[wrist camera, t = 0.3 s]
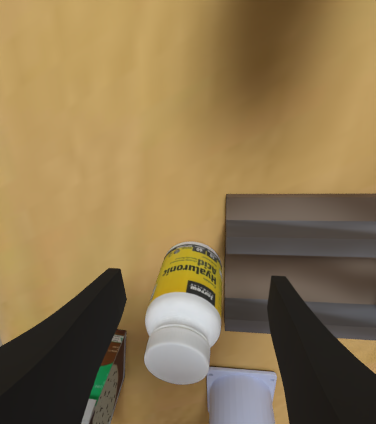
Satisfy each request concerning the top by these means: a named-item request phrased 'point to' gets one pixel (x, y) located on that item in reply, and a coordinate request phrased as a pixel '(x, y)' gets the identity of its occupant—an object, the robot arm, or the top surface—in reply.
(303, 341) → the robot arm
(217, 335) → the supplement bottle
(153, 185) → the top surface
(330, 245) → the bottle rest
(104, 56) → the top surface
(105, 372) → the food container
